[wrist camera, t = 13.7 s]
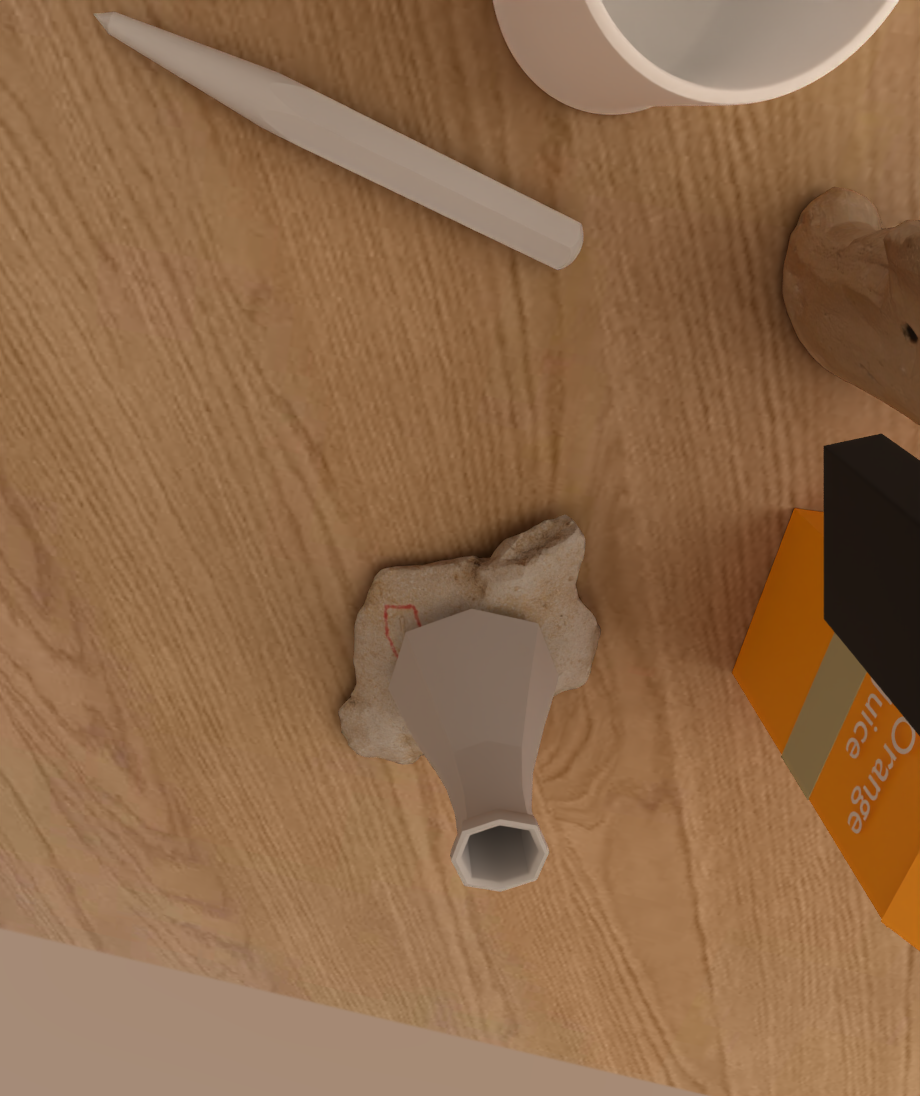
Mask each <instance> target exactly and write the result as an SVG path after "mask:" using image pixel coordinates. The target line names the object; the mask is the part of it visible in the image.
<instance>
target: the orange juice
mask: <svg viewBox="0 0 920 1096" xmlns="http://www.w3.org/2000/svg"><path fill="white" fill-rule="evenodd" d="M732 674H733V675H734V677H735V679H736V680H737V682H738V684H739V685H740V687H741V688H742V690H743V692H744V693H745V695H746V697H747V698H748V700H749V702H750V703H751V705H752V707H753V708H754V710H755V711H756V713H757V715H758V716H759V718H760V720H761V721H762V723H763V725H764V726H765V728H766V730H767V731H768V733H769V734H770V736H771V738H772V739H773V741H774V743H775V744H776V746H777V748H778V749H779V751H780V753H781V754H782V756H781V757H782V758H783V760H784V762H785V763H786V765H787V767H788V768H789V770H790V772H791V773H792V775H793V777H794V778H795V780H796V782H797V783H798V785H799V787H800V788H801V790H802V791H803V793H804V795H805V796H806V798H807V800H810V802H811V804H812V805H813V807H814V808H815V810H816V812H817V813H818V815H819V817H820V818H821V820H822V822H823V823H824V825H825V827H826V828H827V830H828V831H829V833H830V835H831V836H832V838H833V840H834V841H835V843H836V845H837V846H838V848H839V850H840V851H841V853H842V854H843V856H844V858H845V859H846V861H847V863H848V864H849V866H850V868H851V869H852V871H853V873H854V874H855V876H856V877H857V879H858V881H859V882H860V884H861V886H862V887H863V889H864V891H865V892H866V894H867V896H868V897H869V899H870V900H871V902H872V904H873V905H874V907H875V909H876V910H877V912H878V914H879V915H880V917H881V919H882V920H881V922H882V923H884V924H885V925H886V927H889V928H890V929H892V930H893V931H894V932H895V933H897V934H898V935H899V936H901V937H902V938H903V939H904V940H906V941H907V942H908V943H910V944H911V945H912V946H914V947H915V948H916V949H917V950H919V951H920V736H919V735H918V734H917V732H916V731H915V730H914V729H913V728H912V726H911V725H910V724H909V723H908V721H907V720H906V719H905V718H904V717H903V715H902V714H901V713H900V712H899V710H898V709H897V708H896V707H895V706H894V704H893V703H892V702H891V701H890V699H889V698H888V697H887V696H886V695H885V693H884V692H883V691H882V690H881V688H880V687H879V686H878V685H877V684H876V682H875V681H874V680H873V679H872V677H871V676H870V675H869V674H868V673H867V671H866V670H865V669H864V668H863V666H862V665H861V664H860V663H859V661H858V660H857V659H856V658H855V657H854V655H853V654H852V653H851V652H850V650H849V649H848V648H847V647H846V646H845V644H844V643H843V642H842V641H841V639H840V638H839V637H838V636H837V635H836V633H835V632H834V631H833V630H832V628H831V627H830V626H829V625H828V624H827V622H826V621H825V620H824V512H818V511H811V510H804V509H798V508H794V510H793V513H792V515H791V518H790V521H789V523H788V526H787V529H786V531H785V534H784V536H783V539H782V542H781V544H780V547H779V550H778V552H777V555H776V558H775V560H774V563H773V566H772V568H771V571H770V573H769V576H768V579H767V581H766V584H765V587H764V589H763V592H762V595H761V597H760V600H759V602H758V605H757V608H756V610H755V613H754V616H753V618H752V621H751V624H750V626H749V629H748V631H747V634H746V637H745V639H744V642H743V645H742V647H741V650H740V653H739V655H738V658H737V660H736V663H735V666H734V668H733V671H732Z"/></svg>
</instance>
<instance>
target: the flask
mask: <svg viewBox="0 0 920 1096" xmlns="http://www.w3.org/2000/svg"><path fill="white" fill-rule="evenodd" d="M558 678H559V676H558V673H557V671H556V668H555V665H554V663H553V660H552V658H551V655H550V653H549V650H548V647H547V645H546V642H545V640H544V637H543V634H542V632H541V629H540V627H539V624H538V623H535V622H530V621H526V620H521V619H517V618H512V617H508V616H503V615H499V614H494V613H490V612H485V611H481V610H476V609H469V610H466V611H464V612H461V613H458V614H455V615H452V616H449V617H447V618H444V619H441V620H438V621H435V622H433V623H430V624H427V625H424V626H421V627H419V628H416V629H413V630H410V631H407V632H406V633H405V637H404V640H403V643H402V646H401V649H400V652H399V656H398V659H397V662H396V665H395V668H394V672H393V675H392V678H391V681H390V684H389V687H388V689H389V691H390V693H391V695H392V697H393V699H394V701H395V703H396V705H397V707H398V709H399V711H400V713H401V715H402V717H403V719H404V721H405V723H406V725H407V727H408V729H409V731H410V733H411V735H412V737H413V739H414V740H415V742H416V743H417V745H418V747H419V748H420V750H421V751H422V753H423V754H424V755H425V757H426V758H427V760H428V761H429V763H430V764H431V765H432V767H433V768H434V770H435V771H436V773H437V774H438V776H439V778H440V779H441V781H442V783H443V784H444V786H445V788H446V789H447V792H448V795H449V798H450V801H451V804H452V807H453V810H454V812H455V817H456V826H457V836H456V839H455V841H454V844H453V847H452V849H451V854H450V856H451V861H452V863H453V865H454V867H455V869H456V870H457V872H458V874H459V876H460V878H461V880H462V882H463V884H464V886H469V887H475V888H481V889H488V890H494V891H500V892H501V891H504V890H507V889H510V888H513V887H516V886H519V885H523V884H526V883H529V882H532V881H535V880H537V878H538V876H539V873H540V871H541V869H542V867H543V865H544V862H545V860H546V858H547V856H548V854H549V849H548V845H547V843H546V841H545V839H544V836H543V834H542V832H541V830H540V827H539V825H538V823H537V821H536V819H535V817H534V816H533V814H532V781H533V770H534V766H535V762H536V758H537V754H538V750H539V746H540V742H541V737H542V733H543V729H544V726H545V722H546V719H547V716H548V712H549V709H550V706H551V703H552V699H553V696H554V693H555V689H556V686H557V682H558Z"/></svg>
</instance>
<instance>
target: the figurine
mask: <svg viewBox="0 0 920 1096" xmlns="http://www.w3.org/2000/svg"><path fill="white" fill-rule="evenodd" d="M782 295H783V298H784V302H785V306H786V309H787V313H788V316H789V318H790V320H791V323H792V325H793V328H794V330H795V332H796V334H797V336H798V338H799V340H800V342H801V343H802V344H803V345H804V346H805V348H806V349H807V351H808V352H809V353H810V355H811V356H812V357H813V358H814V359H815V360H816V361H817V362H818V363H819V364H820V365H821V366H822V367H824V368H825V369H827V370H828V371H830V372H831V373H833V374H835V375H836V376H838V377H839V378H841V379H843V380H845V381H847V382H849V383H851V384H853V385H855V386H857V387H858V388H860V389H862V390H864V391H865V392H867V393H869V394H871V395H873V396H874V397H876V398H878V399H880V400H881V401H883V402H885V403H886V404H888V405H889V406H891V407H893V408H894V409H896V410H897V411H899V412H901V413H902V414H904V415H905V416H907V417H908V418H910V419H911V420H912V421H914V422H915V423H917V424H918V425H920V221H914V220H907V221H905V222H903V223H901V224H900V225H898V226H896V227H894V228H887V229H881V220H880V217H879V214H878V212H877V209H876V207H875V206H874V205H873V204H872V203H871V202H870V201H869V199H868V198H867V197H865V196H863V195H861V194H859V193H857V192H855V191H853V190H850V189H843V188H837V187H833V188H831V189H830V190H828V191H826V192H825V193H823V194H822V195H820V196H818V197H817V198H815V199H814V200H813V201H811V202H810V204H809V205H808V206H807V207H806V208H805V209H804V210H803V212H802V213H801V215H800V218H799V221H798V223H797V226H796V228H795V229H794V230H793V232H792V233H791V236H790V240H789V245H788V250H787V254H786V258H785V262H784V266H783V289H782Z"/></svg>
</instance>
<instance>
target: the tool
mask: <svg viewBox="0 0 920 1096" xmlns="http://www.w3.org/2000/svg"><path fill="white" fill-rule="evenodd" d="M94 15H95V17H96V18H97V19H98V21H99V22H100V23H101V24H102V26H103V27H104V28H105V30H106V31H107V32H108V34H110V35H111V36H113V37H115V38H116V39H118V40H120V41H121V42H123V43H124V44H126V45H128V46H129V47H131V48H133V49H134V50H136V51H138V52H139V53H141V54H142V55H144V56H146V57H147V58H149V59H151V60H152V61H154V62H155V63H157V64H159V65H160V66H162V67H164V68H165V69H167V70H169V71H170V72H172V73H173V74H175V75H177V76H178V77H180V78H182V79H183V80H185V81H186V82H188V83H190V84H191V85H193V86H195V87H196V88H198V89H200V90H201V91H203V92H204V93H206V94H208V95H209V96H211V97H213V98H214V99H216V100H218V101H219V102H221V103H222V104H224V105H226V106H227V107H229V108H231V109H232V110H234V111H235V112H237V113H239V114H240V115H242V116H244V117H245V118H247V119H249V120H250V121H252V122H253V123H255V124H257V125H258V126H260V127H262V128H264V129H266V130H268V131H270V132H271V133H273V134H275V135H277V136H279V137H281V138H283V139H285V140H287V141H289V142H291V143H293V144H295V145H298V146H300V147H302V148H304V149H306V150H308V151H310V152H312V153H314V154H316V155H318V156H320V157H323V158H325V159H327V160H329V161H331V162H333V163H335V164H337V165H339V166H341V167H343V168H346V169H348V170H350V171H352V172H354V173H356V174H358V175H360V176H362V177H364V178H366V179H368V180H371V181H373V182H375V183H377V184H379V185H381V186H383V187H385V188H387V189H389V190H391V191H394V192H396V193H398V194H400V195H402V196H404V197H406V198H408V199H410V200H412V201H414V202H416V203H419V204H421V205H423V206H425V207H427V208H429V209H431V210H433V211H435V212H437V213H439V214H441V215H444V216H446V217H448V218H450V219H452V220H454V221H456V222H458V223H460V224H462V225H464V226H467V227H469V228H471V229H473V230H475V231H477V232H479V233H481V234H483V235H485V236H487V237H489V238H492V239H494V240H496V241H498V242H500V243H502V244H504V245H506V246H508V247H510V248H512V249H515V250H517V251H519V252H521V253H523V254H525V255H527V256H529V257H531V258H533V259H535V260H537V261H540V262H542V263H544V264H546V265H548V266H550V267H552V268H554V269H556V270H560V269H563V268H565V267H567V266H568V265H570V264H571V263H572V262H573V261H574V260H575V259H576V257H577V256H578V254H579V252H580V250H581V247H582V244H583V228H582V224H581V223H579V222H578V221H576V220H574V219H572V218H570V217H568V216H566V215H564V214H562V213H560V212H558V211H556V210H554V209H552V208H550V207H548V206H546V205H544V204H542V203H540V202H538V201H536V200H534V199H532V198H530V197H528V196H526V195H524V194H522V193H520V192H518V191H516V190H514V189H512V188H510V187H508V186H506V185H504V184H501V183H499V182H497V181H495V180H493V179H491V178H489V177H487V176H485V175H483V174H481V173H479V172H477V171H475V170H473V169H471V168H469V167H467V166H465V165H463V164H461V163H459V162H457V161H455V160H453V159H451V158H449V157H447V156H445V155H443V154H441V153H439V152H437V151H435V150H433V149H431V148H429V147H427V146H425V145H423V144H421V143H419V142H417V141H415V140H413V139H411V138H409V137H407V136H405V135H403V134H401V133H399V132H397V131H395V130H393V129H391V128H389V127H387V126H385V125H383V124H381V123H379V122H377V121H375V120H373V119H371V118H369V117H367V116H365V115H363V114H361V113H359V112H357V111H355V110H353V109H351V108H349V107H347V106H345V105H343V104H341V103H339V102H337V101H335V100H333V99H331V98H329V97H327V96H325V95H323V94H321V93H319V92H317V91H315V90H313V89H311V88H309V87H307V86H305V85H303V84H301V83H299V82H297V81H295V80H292V79H290V78H288V77H286V76H284V75H282V74H280V73H278V72H276V71H273V70H270V69H268V68H265V67H262V66H260V65H257V64H254V63H252V62H249V61H246V60H244V59H241V58H238V57H235V56H233V55H230V54H227V53H225V52H222V51H219V50H217V49H214V48H211V47H209V46H206V45H203V44H200V43H198V42H195V41H192V40H190V39H187V38H184V37H182V36H179V35H176V34H173V33H171V32H168V31H165V30H163V29H160V28H157V27H155V26H152V25H149V24H147V23H144V22H141V21H138V20H136V19H133V18H130V17H128V16H125V15H122V14H120V13H117V12H107V13H97V14H94Z"/></svg>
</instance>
